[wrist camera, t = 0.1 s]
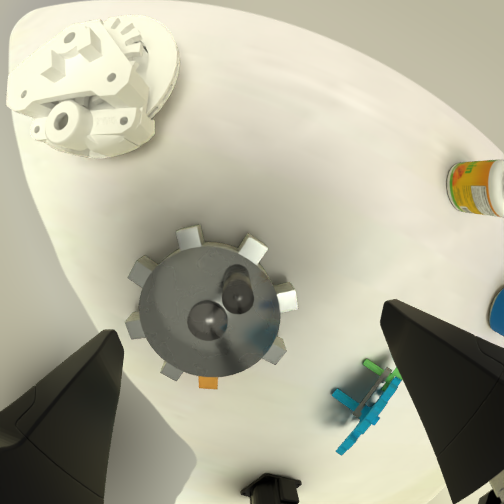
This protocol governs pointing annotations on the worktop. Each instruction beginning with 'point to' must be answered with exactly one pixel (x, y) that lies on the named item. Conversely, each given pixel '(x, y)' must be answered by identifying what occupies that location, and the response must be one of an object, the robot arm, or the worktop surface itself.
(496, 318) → the beverage can
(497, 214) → the supplement bottle
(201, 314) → the sprocket
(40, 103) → the mechanical part
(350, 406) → the gear
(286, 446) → the worktop surface
